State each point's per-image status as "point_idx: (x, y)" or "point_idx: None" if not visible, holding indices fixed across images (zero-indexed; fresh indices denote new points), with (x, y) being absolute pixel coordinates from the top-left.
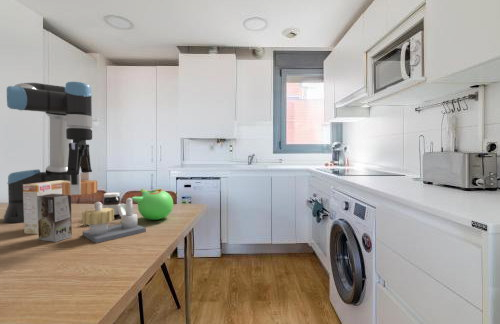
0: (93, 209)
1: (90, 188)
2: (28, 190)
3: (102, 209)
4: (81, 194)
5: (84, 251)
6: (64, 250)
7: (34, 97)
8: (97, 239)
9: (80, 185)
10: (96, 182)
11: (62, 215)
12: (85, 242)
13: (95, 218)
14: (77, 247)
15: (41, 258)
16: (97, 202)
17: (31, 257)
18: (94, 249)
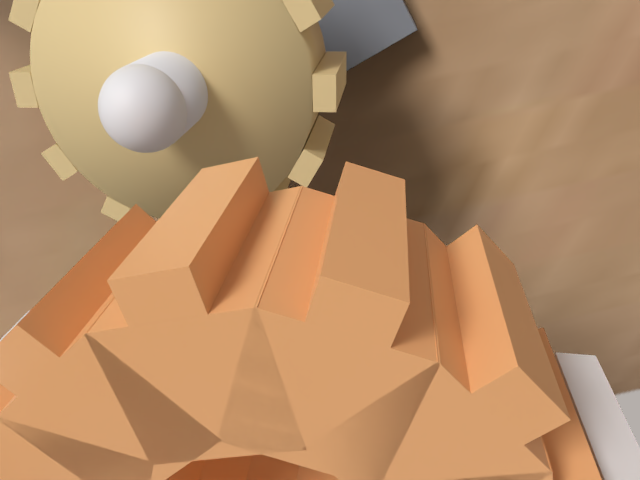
0: (107, 155)
1: (490, 278)
2: None
3: (124, 53)
4: (546, 339)
5: (582, 71)
6: (490, 201)
7: None
8: (411, 21)
9: (600, 471)
10: (207, 258)
11: None
12: (359, 111)
13: (341, 79)
14: (460, 138)
15: (586, 280)
16: (149, 125)
17: (538, 328)
18: (571, 7)
